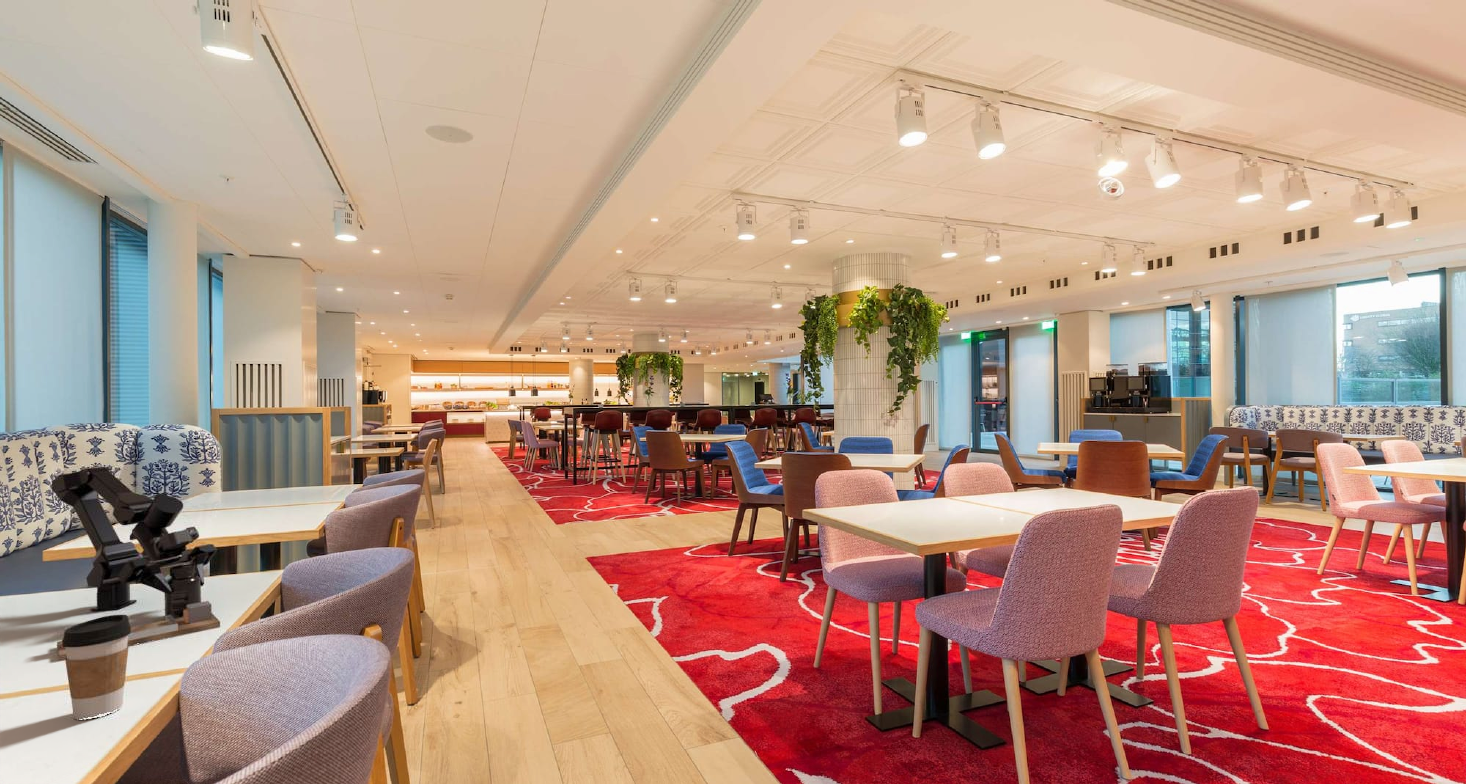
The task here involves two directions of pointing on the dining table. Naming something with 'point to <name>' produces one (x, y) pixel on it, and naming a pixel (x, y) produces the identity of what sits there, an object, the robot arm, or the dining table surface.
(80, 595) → the dining table surface
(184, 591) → the supplement bottle
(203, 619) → the walnut rail
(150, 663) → the dining table surface
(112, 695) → the coffee cup
